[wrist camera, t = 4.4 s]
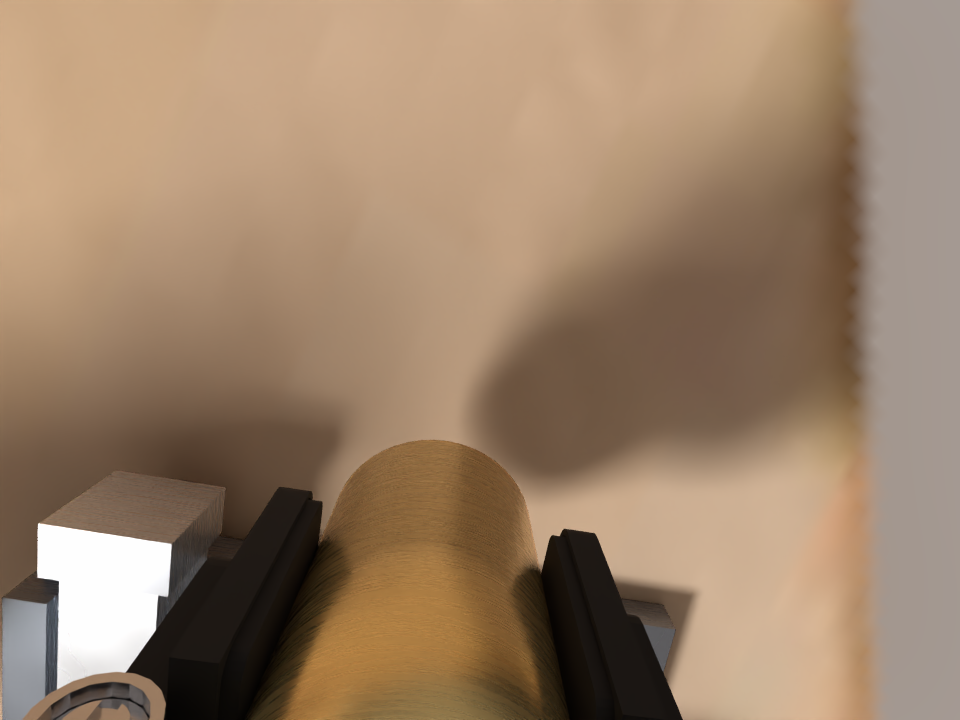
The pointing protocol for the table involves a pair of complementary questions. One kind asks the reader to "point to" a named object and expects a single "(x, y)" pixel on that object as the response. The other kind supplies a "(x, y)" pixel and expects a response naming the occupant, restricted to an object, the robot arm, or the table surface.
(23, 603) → the dock
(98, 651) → the lock pin
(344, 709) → the peg
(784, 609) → the table surface
